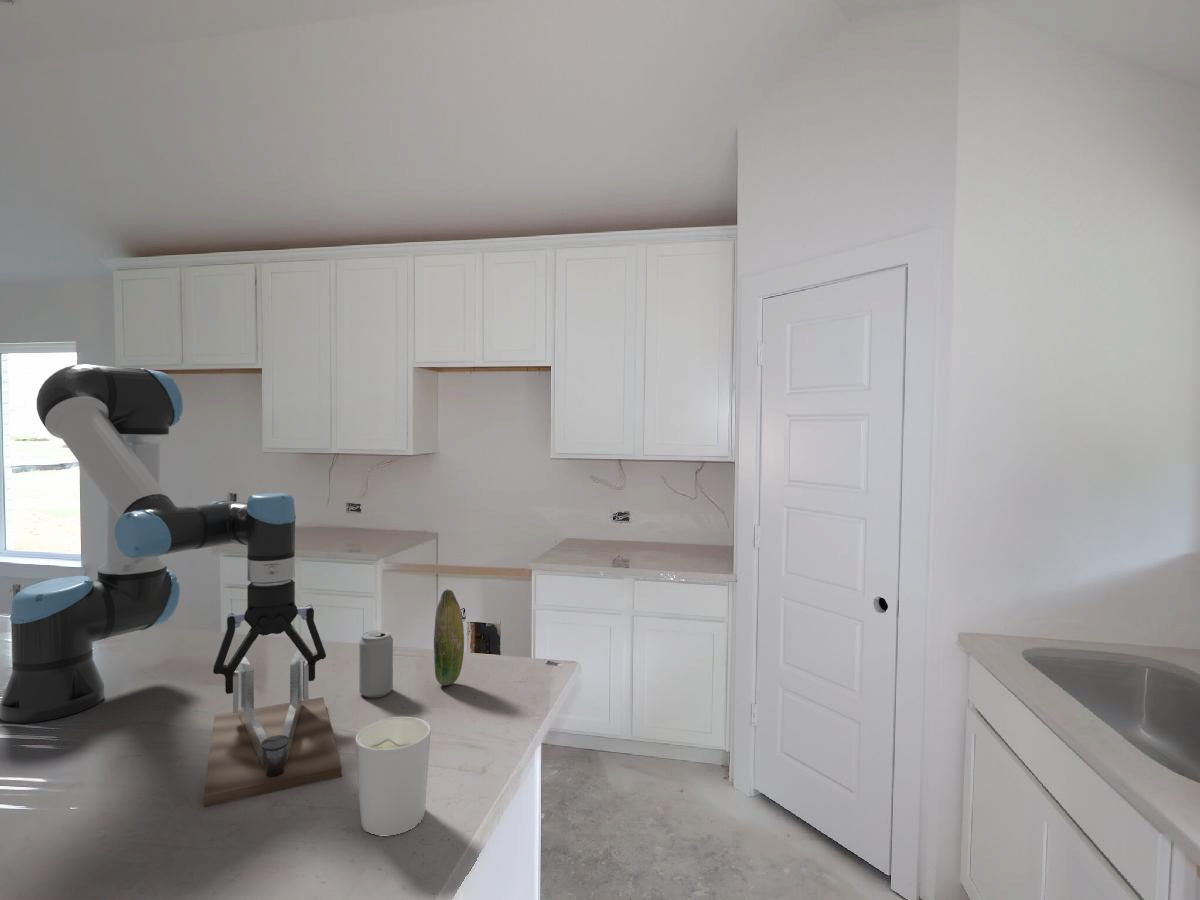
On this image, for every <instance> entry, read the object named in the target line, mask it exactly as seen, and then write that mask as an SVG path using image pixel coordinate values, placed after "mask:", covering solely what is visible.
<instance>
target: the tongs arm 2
mask: <svg viewBox="0 0 1200 900" xmlns="http://www.w3.org/2000/svg"><path fill="white" fill-rule="evenodd" d="M303 657H304V656H303V655H302V654H301V652H300V651H299V650H298V649H295V650H294V654H293V657H292V659H291V662H290V665H289V669H290V670H289V675H290V677H289V680H290V681H289V696H290V697H289V703H290V706H289V710H288V713H287V716H286V720H285V723H284V726H283V730H282V733H281V735H284V736H287V737H288V738H289V743H288V745H287V746H285V747H284V762H287V760H288V756H289V752H290V748H291V744H292V740H293V736H294V733H295V729H296V725H297V721H298V718H299V714H300V710H301V706H302V701H303Z"/></svg>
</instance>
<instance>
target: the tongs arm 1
mask: <svg viewBox="0 0 1200 900" xmlns="http://www.w3.org/2000/svg"><path fill="white" fill-rule="evenodd" d="M237 671H238V714H239V716H240V718H241V721H242V723H243V725H244V727H245V729H246V731H247V733H248V736H249V738H250V740H251V742H252V744H253V747H254V749H255V751H256V753H257V755H258V758H259V760H260V762H261V764H262V766H263V767H264V766H266V750H263V749H262V741H263V740H265V739H267V738H268V737H267V735H266V733H265V731H264V729H263V728H262V726H261V724H260V722H259V720H258V718H257V716H256V714H255V712H254V709H255V704H254V703H255V702H254V701H255V699H254V697H255V696H254V694H255V691H254V687H255V685H254V684H255V679H254V677H255V676H254V675H255V674H254V671H255V670H254V669H253V667H252V665H251V663H250V662H249V660H248V659H247V657H246V656H244V657H243V659H242V661H241V662H240V664H239V665H238V667H237Z"/></svg>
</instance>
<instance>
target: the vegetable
mask: <svg viewBox="0 0 1200 900" xmlns="http://www.w3.org/2000/svg"><path fill="white" fill-rule="evenodd" d="M462 617H463V615H462V611H461V606H460V604H459V602H458V600H457V598H456V596H455V594H454V591H453V590H451V589H448V588H447V589H445V590H443V591H442V594H441V596H440V599H439V602H438V604H437V607H436V611H435V617H434V631H433V633H434V634H433V658H434V675H435V678H436V680H437V683H439V684H440V685H441V686H450V685H453V684H454V683H456V681H457V680H458V678H459V676H460V674H461V670H462V666H463V661H464V655H465V654H464V653H465V631H464V630H465V629H464V622H463V618H462Z"/></svg>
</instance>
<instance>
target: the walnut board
mask: <svg viewBox="0 0 1200 900" xmlns="http://www.w3.org/2000/svg"><path fill="white" fill-rule="evenodd" d="M289 706H290V702H286V703H280V704H274V705H273V704H272V705H268V706H261V707H256V708H255V707H254V712H255V714H256V716H257V718H258V720H259V722H260V724H261V726H262V728H263V729H264V731H265V733H266V735H267V737H268V738H269V737H272V736H277V735H281V733H282V730H283V726H284V723H285V720H286V716H287V713H288V710H289ZM336 745H337V744H336V741H335V738H334V733H333V729H332V726H331V722H330V719H329V713H328V711H327V707H326V703H325V699H324V696H321V697H315V698H308V701H307V702H304V700H303V699H302V706H301V710H300V714H299V718H298V721H297V725H296V729H295V733H294V736H293V740H292V744H291V748H290V752H289V756H288V760H287V762H284V773H283V774H282V775H280V776H277V777H267V776H266V766H264V767H263V766H262V764H261V762H260V760H259V758H258V755H257V753H256V751H255V749H254V747H253V744H252V742H251V740H250V738H249V736H248V733H247V731H246V729H245V727H244V725H243V723H242V721H241V718H240V716H239V714H238V713H235V714H233V711H231V712H226V713H220V714H214V716H213V724H212V731H211V739H210V747H209V753H208V760H207V761H208V762H207V763H208V764H207V770H206V772H207V773H206V777H205V779H206V780H205V786H204V787H205V788H204V792H203V793H204V794H203V807H204V808H207V807H211V806H215V805H219V804H220V805H221V804H225V803H229V802H233V801H238V800H242V799H243V800H244V799H248V798H252V797H257V796H261V795H265V794H268V793H269V794H270V793H273V792H279V791H282V790H287V789H292V788H296V787H302V786H305V784H306V785H309V784H315V783H319V782H323V781H328V780H332V779H337V778H341V777H342V763H341V759H340V757H339V755H340V754H339V753H338V749H337V746H336Z"/></svg>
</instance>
